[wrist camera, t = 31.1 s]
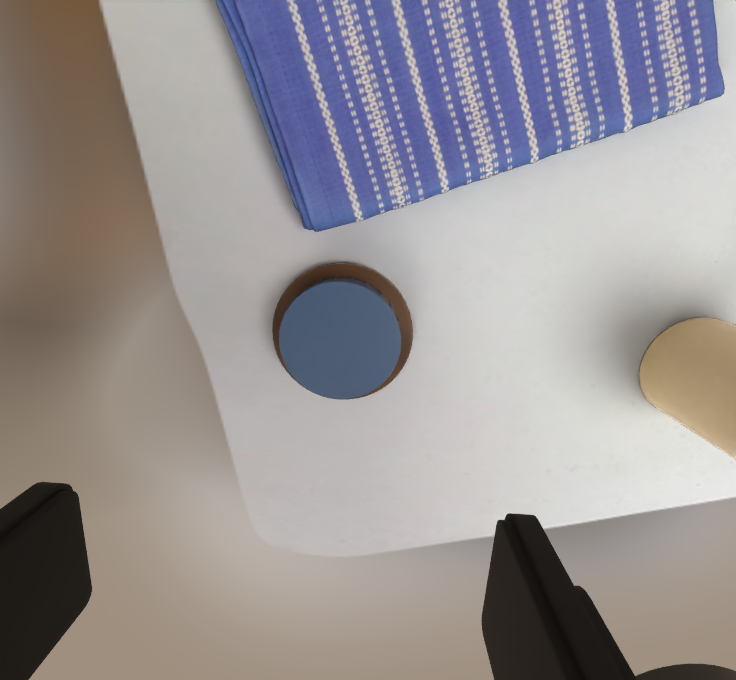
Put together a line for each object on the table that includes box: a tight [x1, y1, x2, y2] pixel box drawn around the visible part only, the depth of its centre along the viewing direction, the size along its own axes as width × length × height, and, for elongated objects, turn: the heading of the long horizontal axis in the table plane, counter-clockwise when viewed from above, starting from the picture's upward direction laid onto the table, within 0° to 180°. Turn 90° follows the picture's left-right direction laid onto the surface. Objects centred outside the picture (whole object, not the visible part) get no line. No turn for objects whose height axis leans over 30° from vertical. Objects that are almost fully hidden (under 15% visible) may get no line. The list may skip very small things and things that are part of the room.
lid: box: [279, 277, 402, 399], centre depth 25 cm, size 7×7×2 cm
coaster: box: [272, 263, 413, 399], centre depth 26 cm, size 9×9×1 cm
